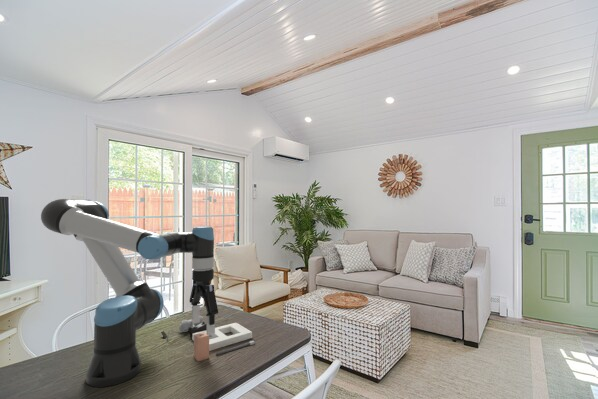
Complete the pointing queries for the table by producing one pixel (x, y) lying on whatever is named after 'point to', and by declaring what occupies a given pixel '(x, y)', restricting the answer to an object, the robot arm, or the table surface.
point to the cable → (236, 347)
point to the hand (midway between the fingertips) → (202, 328)
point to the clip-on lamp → (189, 327)
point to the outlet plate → (222, 340)
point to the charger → (201, 346)
